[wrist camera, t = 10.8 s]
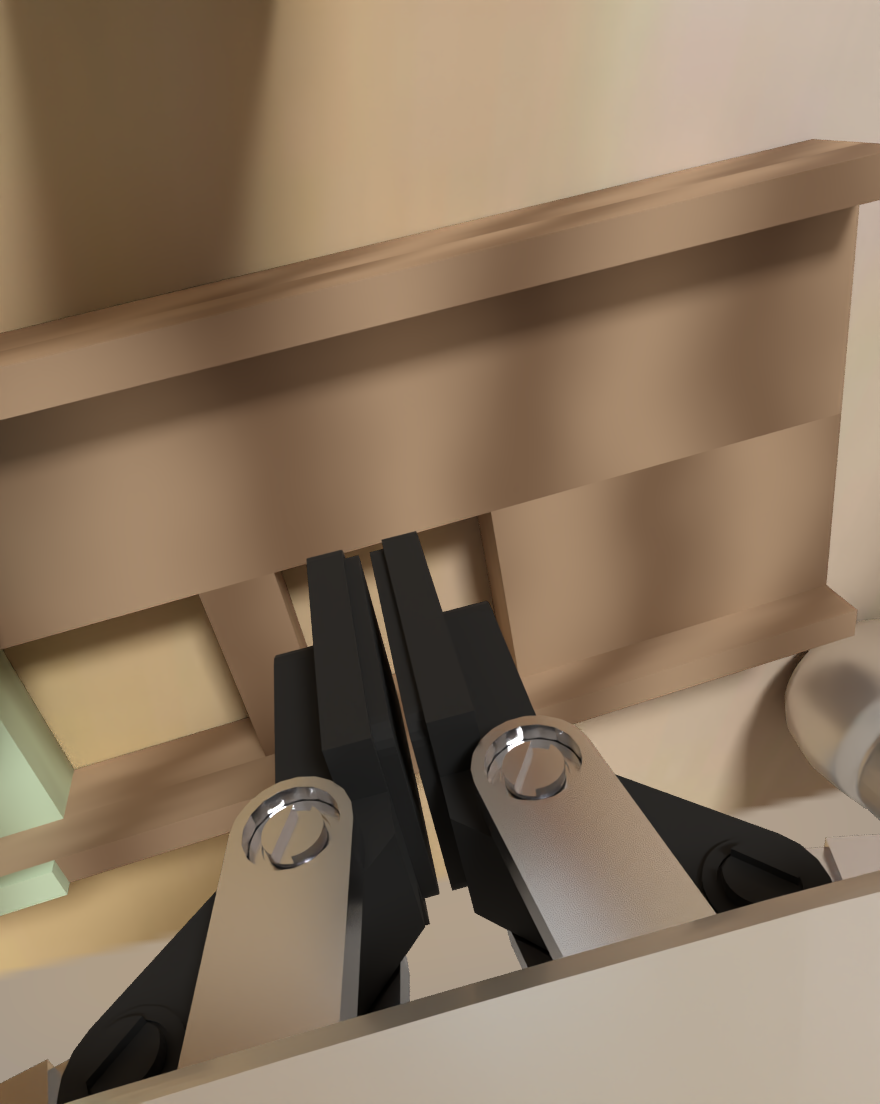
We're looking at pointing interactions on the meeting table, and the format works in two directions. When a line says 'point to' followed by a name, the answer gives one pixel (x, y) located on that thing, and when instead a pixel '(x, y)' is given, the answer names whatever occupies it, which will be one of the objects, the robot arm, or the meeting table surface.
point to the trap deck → (438, 466)
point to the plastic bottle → (841, 712)
